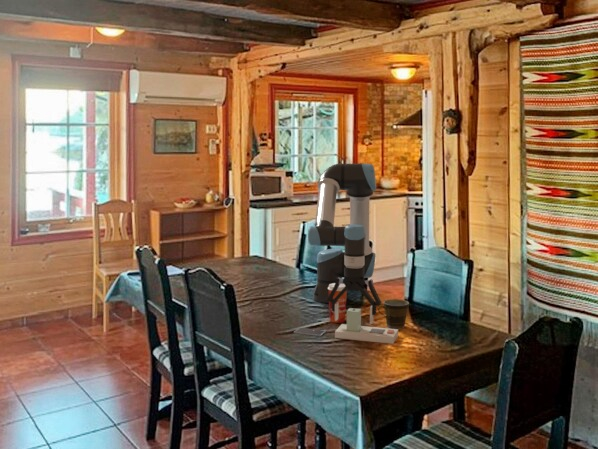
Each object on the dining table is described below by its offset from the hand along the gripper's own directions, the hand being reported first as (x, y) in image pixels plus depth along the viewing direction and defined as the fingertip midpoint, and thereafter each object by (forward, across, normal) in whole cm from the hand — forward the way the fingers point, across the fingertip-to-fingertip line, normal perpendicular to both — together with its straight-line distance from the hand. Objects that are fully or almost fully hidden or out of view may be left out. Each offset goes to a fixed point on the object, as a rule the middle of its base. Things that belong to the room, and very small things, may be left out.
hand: (353, 321), depth 238 cm
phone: (+6, -17, -2) cm, 18 cm away
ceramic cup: (+6, +12, +15) cm, 20 cm away
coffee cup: (+6, -11, +17) cm, 21 cm away
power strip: (+5, +5, 0) cm, 7 cm away
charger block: (+6, 0, 0) cm, 6 cm away
